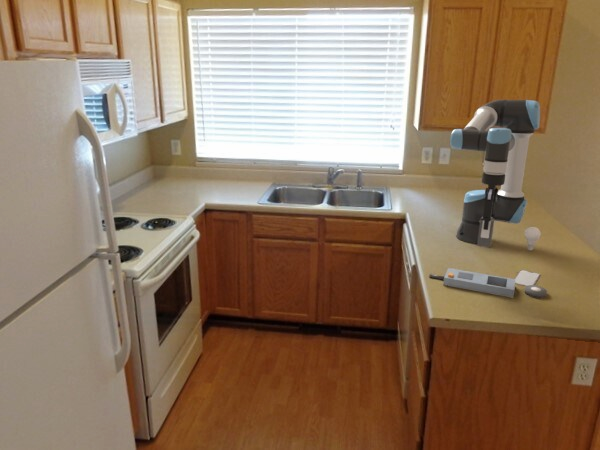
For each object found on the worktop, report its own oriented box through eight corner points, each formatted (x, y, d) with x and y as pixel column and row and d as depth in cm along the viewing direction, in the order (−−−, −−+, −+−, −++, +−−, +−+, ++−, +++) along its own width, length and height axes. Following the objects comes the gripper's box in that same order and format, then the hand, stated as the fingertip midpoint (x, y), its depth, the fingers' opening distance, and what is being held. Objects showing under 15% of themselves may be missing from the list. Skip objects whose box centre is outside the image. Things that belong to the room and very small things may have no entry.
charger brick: (477, 242, 174) (481, 216, 171) (490, 244, 172) (494, 218, 169) (476, 245, 170) (479, 219, 167) (489, 247, 168) (493, 221, 165)
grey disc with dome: (524, 288, 171) (525, 283, 170) (545, 291, 168) (546, 287, 167) (524, 295, 165) (525, 291, 164) (546, 299, 162) (547, 294, 161)
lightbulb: (518, 249, 209) (522, 225, 206) (529, 247, 211) (532, 224, 208) (530, 253, 203) (534, 230, 200) (540, 251, 206) (545, 228, 202)
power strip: (431, 272, 184) (432, 263, 183) (514, 286, 172) (515, 277, 171) (427, 281, 175) (427, 272, 174) (513, 297, 163) (514, 287, 162)
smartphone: (511, 282, 175) (520, 269, 186) (511, 283, 175) (520, 270, 187) (532, 287, 171) (541, 273, 182) (532, 288, 171) (540, 275, 182)
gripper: (485, 168, 172) (477, 227, 179) (479, 175, 157) (471, 240, 164) (507, 170, 169) (498, 230, 176) (503, 178, 154) (493, 244, 161)
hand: (485, 235), depth 170 cm, fingers closed on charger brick, 4 cm apart
